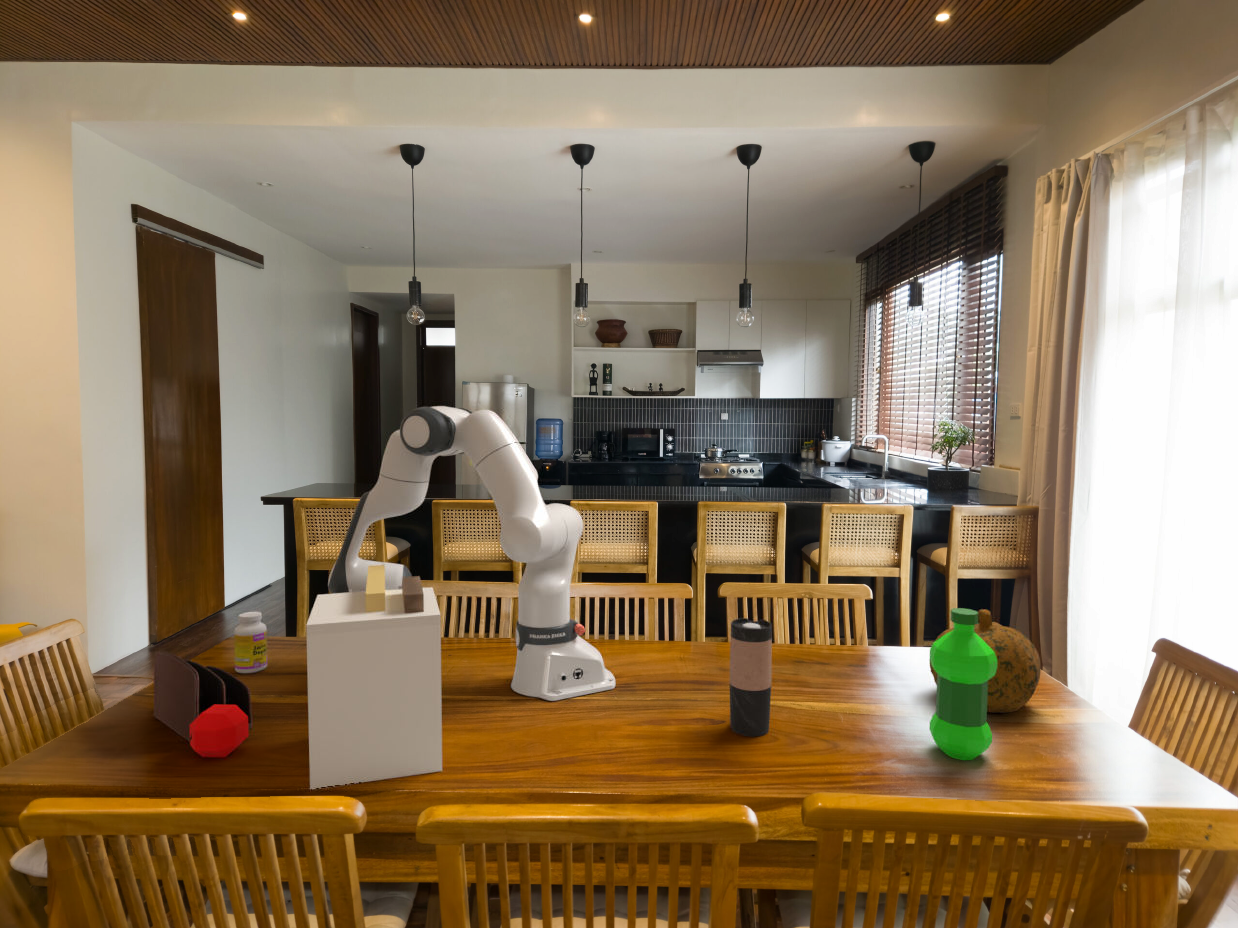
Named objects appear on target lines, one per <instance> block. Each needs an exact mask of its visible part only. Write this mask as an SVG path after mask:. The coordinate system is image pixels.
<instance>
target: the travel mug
mask: <svg viewBox="0 0 1238 928" xmlns="http://www.w3.org/2000/svg"><path fill="white" fill-rule="evenodd" d="M772 626H773V625H772V623H771V622H770V621H768V620H765V619H759V620H755V621H754V620H753V621H752V620H749V619H748V618H746V617H740V618H735V619H733V620H732V621H731V622H730V646H729V647H730V649H729V650H730V651H729V653H730V654H729V658H730V659H729V719H730V720H729V721H730V722H729V725H730V729H731V730H732V732H733V733H736V734H738V735H740V736H745V737H760V736H765V735H766V734H768V733H769V730H770V717H771V715H770V714H771V700H772V699H771V696H772V653H773V652H772V648H773V647H772V646H773V645H772V643H773V642H772V640H773V639H772V637H773V634H772V633H773V632H772V628H773V627H772Z"/></svg>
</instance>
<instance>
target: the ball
mask: <svg viewBox="0 0 1238 928" xmlns="http://www.w3.org/2000/svg"><path fill="white" fill-rule="evenodd" d="M249 730H250V729H249ZM249 730H248V716H247V715H246V714H245V713H244V712H243V711H242V710H241V709H240V708H239V707H238V706H237V705H219V704H214V705H213V706H211V707H210V708H208V709H207V710H205V711H204V712H202V713H201V714H200V715H199V716H198V717H197V718H196V719H195V720H194V721H193V722H192V723H191V724H190V739H191V741H190V742H189V746H190V747H191V748H192V749H193V751H194V752H196V753H197V755H200V756H201V757H202V758H226V757H228V756H229V755H230V754H231V753H232V752H233V751H235V750H236V749H238V747H239V746H240V745H241V744H243V742H244V741H246V740H247V738H249V736H250V735H249V732H250V731H249Z"/></svg>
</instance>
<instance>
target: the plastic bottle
mask: <svg viewBox="0 0 1238 928" xmlns="http://www.w3.org/2000/svg"><path fill="white" fill-rule="evenodd" d="M949 621H951V622H952V623H953V628H954V630H952V631H950V632H949V633H947V634H945V635H944V636H942V637H941V638H939V639H938V640H937V641H934V642H932V645H931V647H930V649H929V662H930V661H931V665H932V667H933V668H934V670H935V671H936V672H937V685H936V696H935V697H936V698H935V702H936V703H935V713H934V714H933V716H932V717H931V719H930V721H929V732H930V735H931V736H932V739H933V740H934V743H935V744H936V745H937V747H938V748H940V750H941V751H942V752H944V754H945V755H947V756H948V757H950V758H953V759H956V760H960V761H972V760H974V759H976V758H977V757H978V756H981V754H983V753H984V752H986V751H987V750H988V749H989V748H990V746H991V745H992V743H993V733H992V730H991V727H990V725H989V724H988V722H987V719H988V717H987V716H988V715H987V713H988V712H987V694H988V680H989V679H991V678H992V677H993V676H994V675H995V673H996V670H997V658H996V655H995V652H994V651H993V650H992V649H991V648H990V647H989V646H988V645H987V644H986V643H985V642H984V641H983V640H982V639H981V638H980V637H979V636H978V635H977V634H976V633H975V632H974V625H976V624H979V616H978V611H977V610H973V609H970V608H965V607H964V608H963V607H962V608H961V607H958V608H955V607H954V608H952V609H950V620H949Z"/></svg>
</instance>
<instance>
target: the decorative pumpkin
mask: <svg viewBox="0 0 1238 928" xmlns="http://www.w3.org/2000/svg"><path fill="white" fill-rule="evenodd" d="M977 612H978V624H976V625H974V632H975V633H976V634H977V635H978V636H979V637H980V638H981V639H982V640H983V641H984V642H985V643H986V644H987V645H988V646H989V647H990V648H991V649H992V650H993V651H994V652H995V655H996V658H997V670H996V673H995V675H994V676H993V677H992V678H991V679H989V680H988V694H987V713H1005V714H1007V713H1011V712H1017V711H1018V710H1019V709H1021V708H1022V707H1024V706H1025V705H1026V704H1028V703H1029V701H1030V700H1031V698H1032V697H1033V696H1034V694H1035V692H1036V689H1037V688H1038V687H1037V686H1038V685H1039V683H1040V678H1041V658H1040V655H1039V652H1038V650H1037V648H1036V647H1035V645H1034V644H1033V642H1032V641H1031V640H1030V639H1029V638H1028V637H1027V636H1026V635H1025V634H1023V633H1022V632H1021V631H1020V630H1018V629H1015V628H1013V627H1009V626H1006V625H1005V626H1003V625H1002V624H1000V623H998V622H996V621H992V615H991V611H990V610H988V609H983V608H981V609H979V610H978V611H977ZM952 630H954V627H951V628H948V629H946V630H944V631H942V632H941V633H940V634H939V635H938V636H937V638H936V639H935V641H937V640H938V639H939V638H941V637H942V636H944V635H945V634H947V633H949V632H950V631H952ZM935 641H934V642H935ZM929 669H930V672H931V675H932V677H933V680H934V683H935V685H936V686H937V672H936V671H935V670H934V668H933V667H932V665H931V661H930V660H929Z"/></svg>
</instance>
